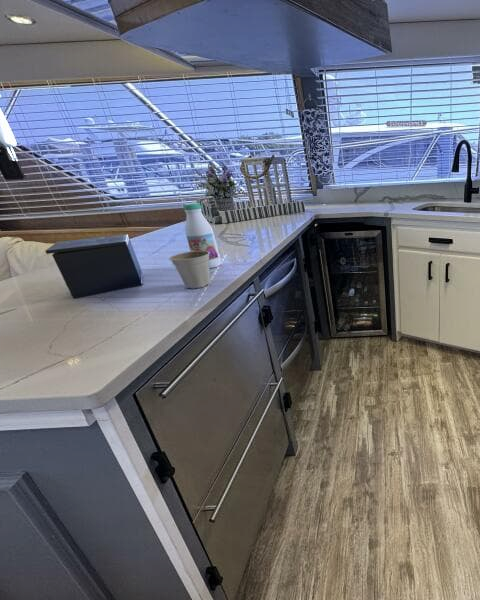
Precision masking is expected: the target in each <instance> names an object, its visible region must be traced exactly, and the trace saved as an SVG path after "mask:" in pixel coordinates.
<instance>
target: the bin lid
mask: <svg viewBox="0 0 480 600" xmlns="http://www.w3.org/2000/svg"><path fill="white" fill-rule="evenodd" d="M128 238H129V239H130V236H129V234H120V235H112V236H111V235H110V236H103V237H101V236H100V237H91V238H84V239H83V238H82V239H75V240H73V239H72V240H64V241H55V243H53V244H52V245H51V246H50V247H48V248H47V249H45V253H46V255H48V254H49V255H50V254H54V253H58V252H67V251H75V250H83V249H92V248H100V247H108V246H117V245H125V244H127V241H128Z"/></svg>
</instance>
